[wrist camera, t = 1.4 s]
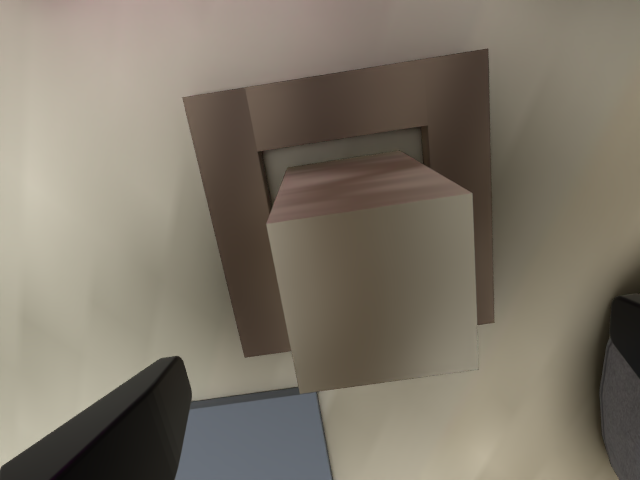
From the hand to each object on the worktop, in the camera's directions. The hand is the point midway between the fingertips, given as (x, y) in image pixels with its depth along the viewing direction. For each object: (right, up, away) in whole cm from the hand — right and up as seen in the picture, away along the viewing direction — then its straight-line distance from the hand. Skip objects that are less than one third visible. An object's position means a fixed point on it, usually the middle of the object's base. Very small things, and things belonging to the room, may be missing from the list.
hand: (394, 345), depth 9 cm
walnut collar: (0, +3, +11) cm, 11 cm away
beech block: (0, +3, +11) cm, 11 cm away
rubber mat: (-6, -11, +15) cm, 20 cm away
